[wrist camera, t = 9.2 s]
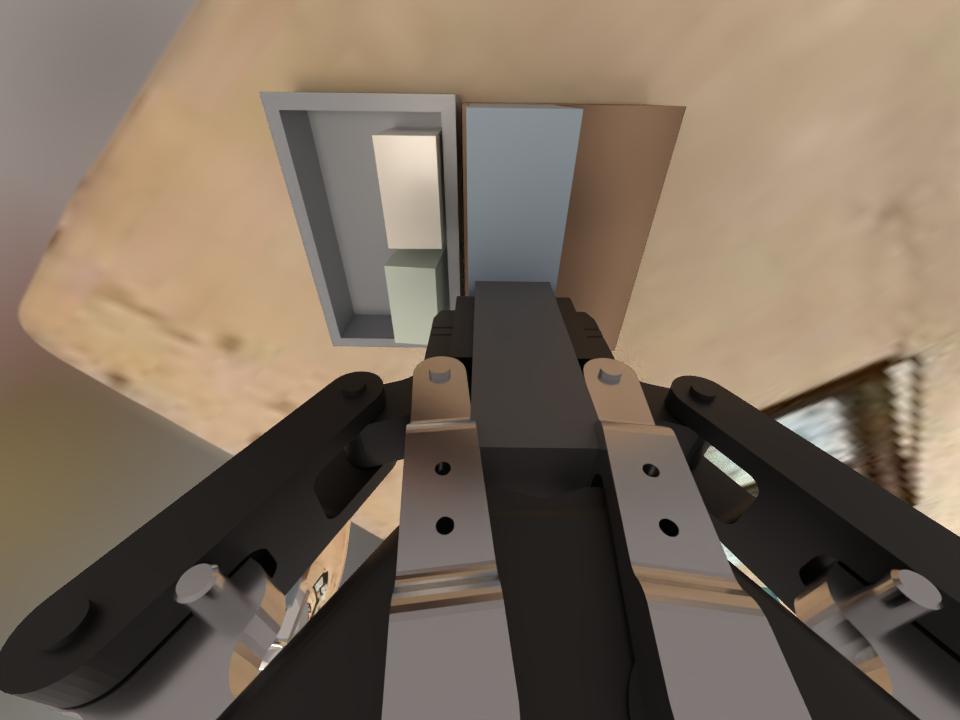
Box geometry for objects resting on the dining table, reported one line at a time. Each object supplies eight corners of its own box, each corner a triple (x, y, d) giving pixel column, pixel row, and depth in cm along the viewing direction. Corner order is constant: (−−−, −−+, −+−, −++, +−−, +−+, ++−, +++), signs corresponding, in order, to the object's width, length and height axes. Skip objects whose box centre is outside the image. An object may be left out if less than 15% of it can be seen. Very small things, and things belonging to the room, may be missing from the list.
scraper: (552, 104, 13) (748, 132, 3) (524, 362, 20) (561, 603, 11) (471, 103, 13) (440, 128, 3) (472, 361, 20) (462, 602, 11)
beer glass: (377, 448, 33) (317, 647, 21) (370, 489, 37) (317, 676, 25) (300, 435, 32) (191, 636, 20) (302, 478, 36) (212, 667, 24)
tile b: (435, 268, 17) (384, 265, 17) (439, 345, 20) (395, 342, 20) (449, 238, 21) (407, 236, 21) (450, 307, 23) (413, 304, 23)
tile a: (435, 135, 14) (371, 135, 14) (441, 249, 17) (388, 248, 17) (444, 127, 17) (393, 127, 17) (448, 221, 20) (404, 221, 20)
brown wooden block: (648, 104, 17) (685, 106, 14) (597, 317, 24) (614, 350, 21) (465, 102, 17) (462, 103, 14) (468, 315, 25) (465, 348, 21)
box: (459, 94, 17) (455, 94, 14) (464, 319, 25) (461, 347, 22) (295, 92, 17) (259, 91, 14) (350, 317, 25) (333, 346, 22)
